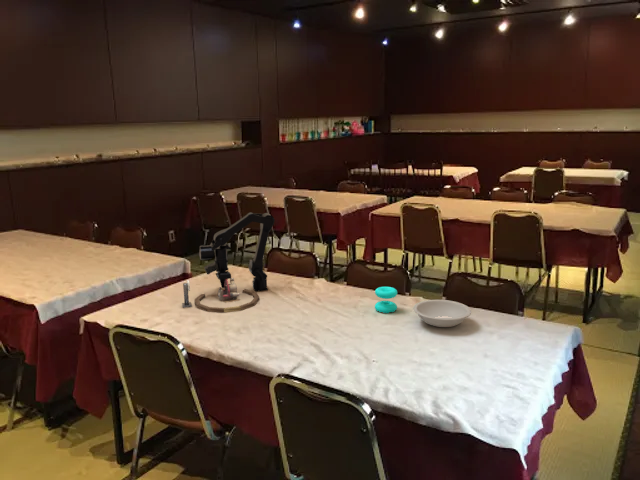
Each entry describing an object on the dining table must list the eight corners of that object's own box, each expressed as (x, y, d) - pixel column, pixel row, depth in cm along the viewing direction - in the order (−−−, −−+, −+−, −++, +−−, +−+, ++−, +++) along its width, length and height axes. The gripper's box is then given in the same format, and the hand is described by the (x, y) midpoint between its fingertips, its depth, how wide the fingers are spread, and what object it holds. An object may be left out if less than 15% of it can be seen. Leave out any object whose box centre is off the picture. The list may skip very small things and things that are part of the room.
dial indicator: (190, 303, 260) (188, 278, 257) (191, 307, 255) (189, 281, 253) (182, 304, 259) (180, 279, 256) (183, 308, 254) (181, 282, 251)
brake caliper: (211, 292, 269) (224, 271, 269) (229, 302, 274) (242, 282, 274) (215, 299, 259) (229, 278, 259) (234, 309, 263) (248, 289, 264)
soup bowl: (472, 336, 218) (473, 321, 216) (411, 332, 222) (412, 317, 221) (468, 315, 241) (469, 301, 239) (413, 312, 245) (414, 298, 244)
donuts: (375, 292, 242) (375, 285, 251) (374, 313, 244) (374, 306, 254) (397, 292, 241) (396, 285, 250) (397, 314, 243) (396, 306, 253)
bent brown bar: (253, 290, 278) (253, 288, 277) (264, 307, 254) (264, 304, 253) (193, 297, 268) (192, 294, 268) (199, 315, 244) (198, 312, 244)
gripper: (202, 254, 276) (204, 284, 280) (207, 264, 259) (209, 295, 262) (224, 252, 279) (226, 281, 283) (230, 261, 262) (232, 292, 266)
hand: (222, 287), depth 273 cm, fingers closed
